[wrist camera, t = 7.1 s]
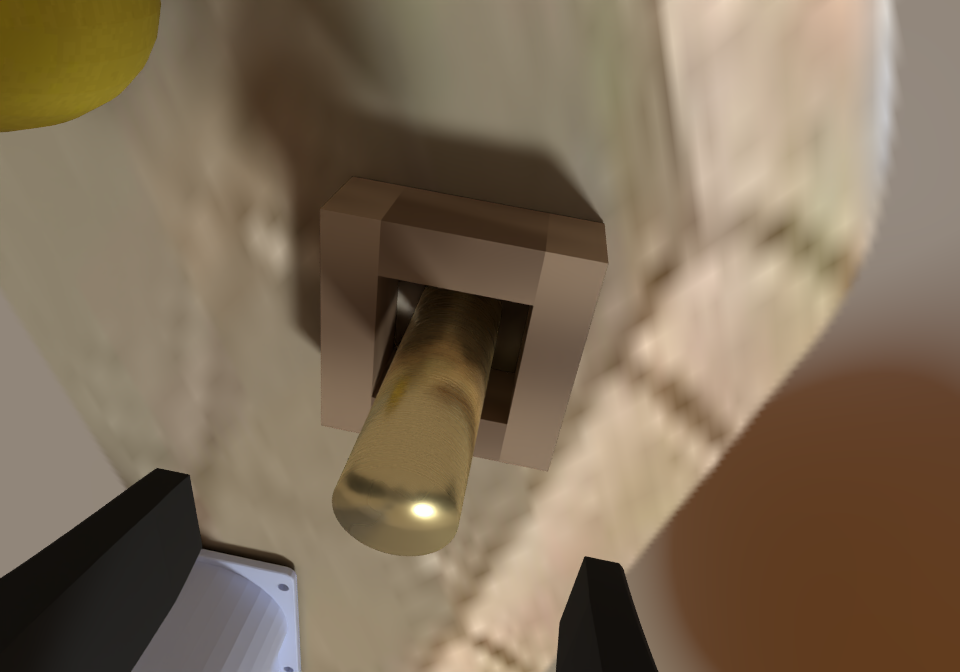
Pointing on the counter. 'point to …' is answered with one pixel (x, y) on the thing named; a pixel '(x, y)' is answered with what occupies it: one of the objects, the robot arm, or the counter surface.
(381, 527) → the brass pin
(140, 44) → the lemon
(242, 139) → the counter surface
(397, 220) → the socket block
